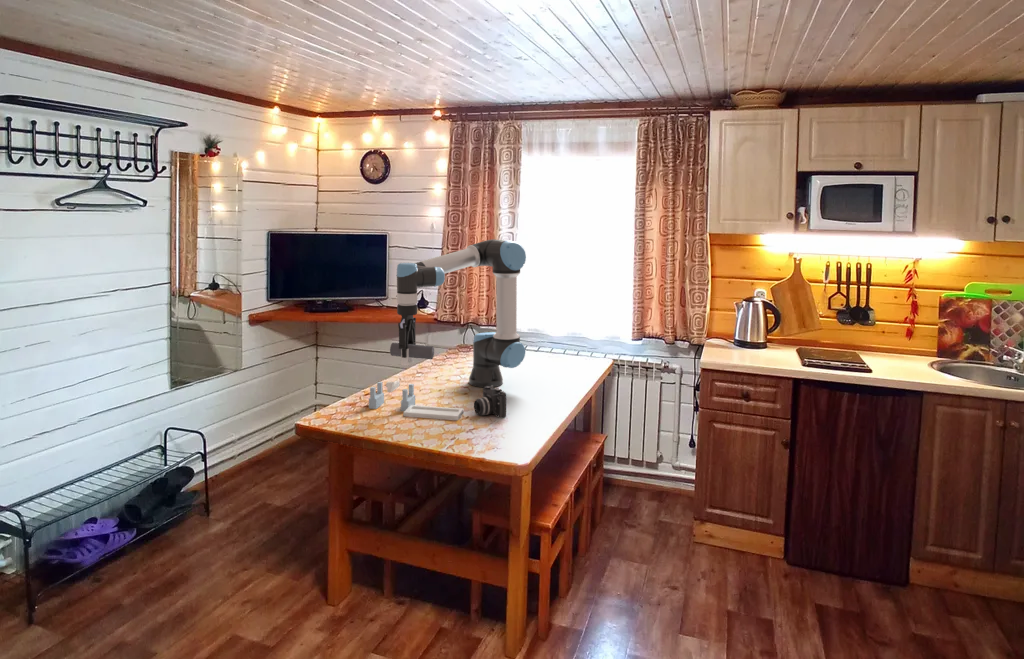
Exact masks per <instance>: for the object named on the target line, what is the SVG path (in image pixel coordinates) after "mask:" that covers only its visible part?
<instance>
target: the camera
mask: <svg viewBox="0 0 1024 659" xmlns="http://www.w3.org/2000/svg"><path fill="white" fill-rule="evenodd" d="M473 410H474V412H475V414H476V415H478V416H487V415H491V414H492V415H494V416H496V417H498V418H500V419H501V418H506V417H507V393H506V392H504V390H502V388H499V387H497V388H495V387H493V386H486V387H482V397H479V398H477V399H475V401H474V402H473Z"/></svg>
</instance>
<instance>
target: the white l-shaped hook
mask: <svg viewBox="0 0 1024 659" xmlns="http://www.w3.org/2000/svg"><path fill="white" fill-rule="evenodd" d="M400 381H401V380H394V381H389V380H388V381H386V382H385V387H386V388H387V389H386V391H387V392H386V393H393V392H394V391H395V390H396V389H398V388H400V386H401V384H400V383H401V382H400Z"/></svg>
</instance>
